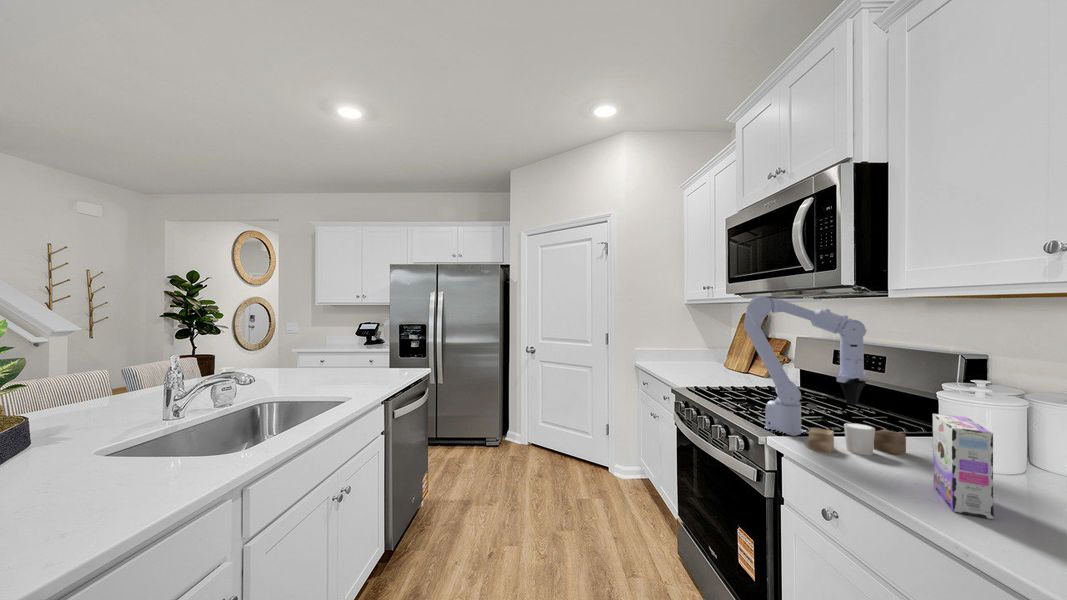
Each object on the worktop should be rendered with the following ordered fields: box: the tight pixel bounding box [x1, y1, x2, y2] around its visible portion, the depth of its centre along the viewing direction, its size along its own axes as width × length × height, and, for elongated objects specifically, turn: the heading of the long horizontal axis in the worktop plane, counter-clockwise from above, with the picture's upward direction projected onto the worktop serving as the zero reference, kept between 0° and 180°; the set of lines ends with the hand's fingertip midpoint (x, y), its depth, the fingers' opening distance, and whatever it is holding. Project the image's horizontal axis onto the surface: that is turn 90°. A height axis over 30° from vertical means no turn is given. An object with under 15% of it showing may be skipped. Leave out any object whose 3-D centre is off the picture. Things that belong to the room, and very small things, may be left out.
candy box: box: [931, 413, 995, 520], centre depth 85 cm, size 14×6×16 cm, turn 148°
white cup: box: [843, 422, 876, 456], centre depth 114 cm, size 7×7×7 cm
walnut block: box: [873, 429, 907, 456], centre depth 115 cm, size 5×5×5 cm
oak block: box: [808, 427, 835, 454], centre depth 117 cm, size 5×5×5 cm
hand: (852, 404), depth 125 cm, fingers closed
